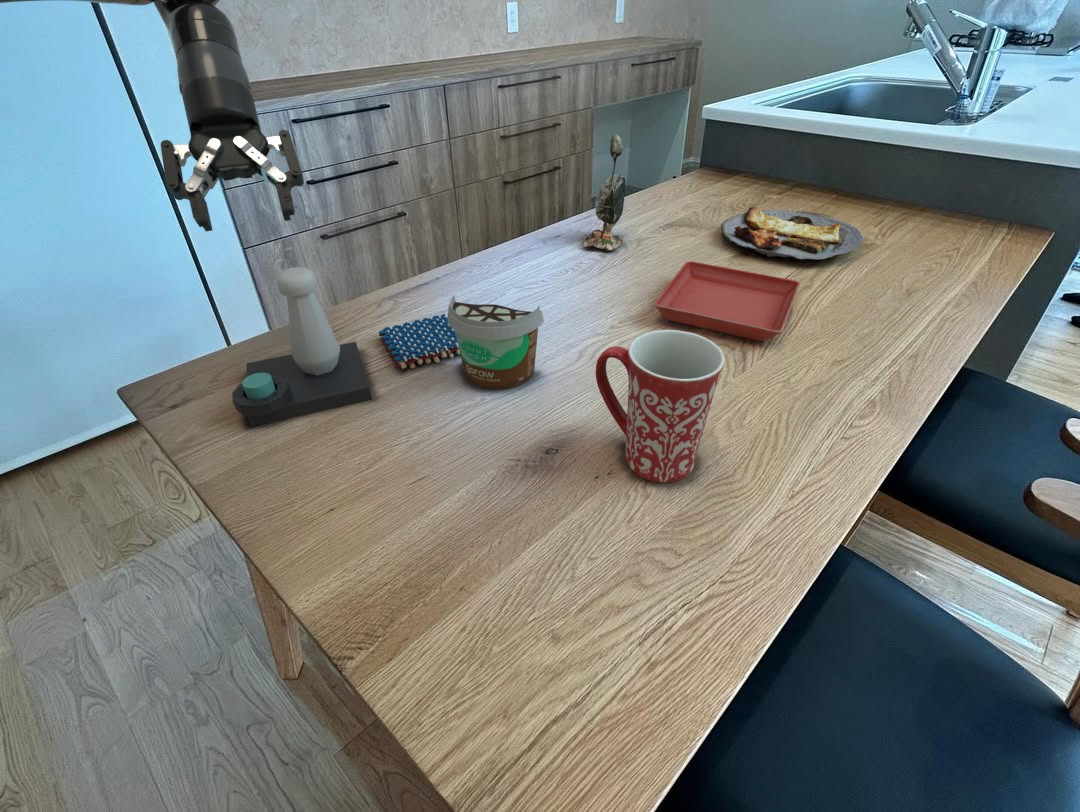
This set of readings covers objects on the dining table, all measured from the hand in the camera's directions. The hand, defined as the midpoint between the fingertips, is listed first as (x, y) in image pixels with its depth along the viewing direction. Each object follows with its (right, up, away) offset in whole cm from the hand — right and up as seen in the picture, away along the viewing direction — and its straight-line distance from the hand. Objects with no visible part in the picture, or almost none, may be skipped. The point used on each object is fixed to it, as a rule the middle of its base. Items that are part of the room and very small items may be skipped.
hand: (247, 222), depth 67 cm
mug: (+45, -26, -3) cm, 52 cm away
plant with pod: (+46, +11, +46) cm, 66 cm away
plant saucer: (+62, -7, +23) cm, 66 cm away
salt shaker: (+5, -16, +8) cm, 19 cm away
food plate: (+81, +10, +45) cm, 93 cm away
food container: (+27, -18, +8) cm, 34 cm away
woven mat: (+17, -13, +16) cm, 27 cm away
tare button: (+1, -19, +1) cm, 20 cm away
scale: (+4, -19, +8) cm, 21 cm away
